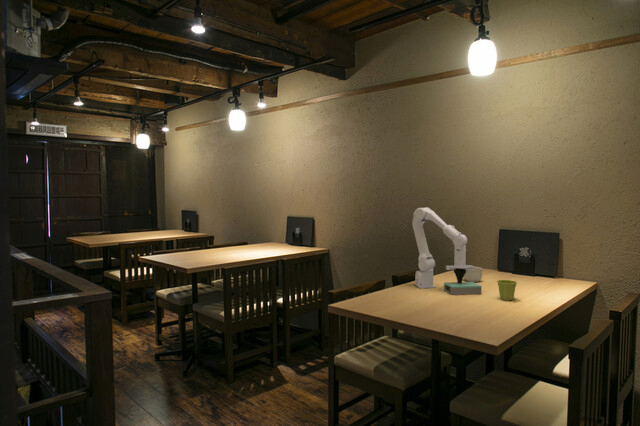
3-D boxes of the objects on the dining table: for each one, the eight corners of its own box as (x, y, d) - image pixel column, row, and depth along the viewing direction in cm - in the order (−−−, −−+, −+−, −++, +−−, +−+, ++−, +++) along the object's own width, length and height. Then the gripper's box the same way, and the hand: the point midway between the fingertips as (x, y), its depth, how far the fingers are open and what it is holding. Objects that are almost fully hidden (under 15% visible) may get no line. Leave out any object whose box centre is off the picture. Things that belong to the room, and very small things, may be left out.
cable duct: (451, 295, 218) (451, 288, 218) (443, 290, 228) (444, 283, 228) (481, 294, 220) (481, 287, 220) (472, 289, 230) (472, 283, 230)
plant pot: (495, 300, 209) (495, 282, 208) (497, 295, 217) (497, 278, 217) (516, 302, 204) (516, 284, 204) (517, 298, 213) (517, 280, 212)
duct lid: (451, 288, 218) (451, 286, 218) (444, 283, 228) (444, 282, 228) (481, 287, 220) (481, 285, 220) (472, 283, 230) (472, 281, 230)
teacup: (484, 283, 246) (485, 269, 245) (465, 283, 246) (466, 269, 245) (476, 278, 260) (476, 265, 259) (458, 278, 260) (458, 265, 259)
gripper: (449, 259, 220) (449, 285, 221) (476, 258, 221) (476, 284, 222) (444, 256, 227) (444, 282, 228) (470, 256, 228) (470, 281, 229)
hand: (459, 283), depth 225 cm, fingers closed
